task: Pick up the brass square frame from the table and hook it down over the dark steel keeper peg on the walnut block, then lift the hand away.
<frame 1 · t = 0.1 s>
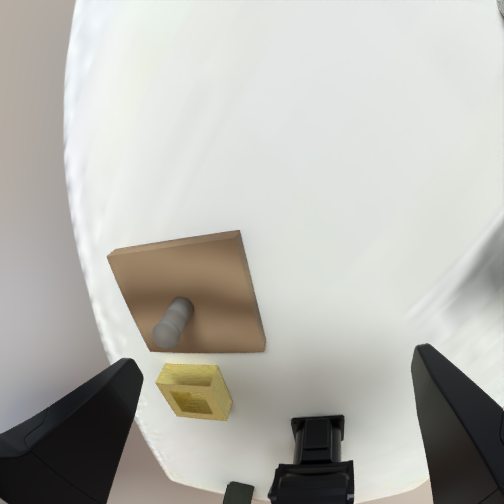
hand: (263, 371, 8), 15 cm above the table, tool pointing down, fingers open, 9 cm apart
keeper block: (188, 296, 26), on the table
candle: (240, 485, 47), on the table
brass square frame: (199, 383, 31), on the table
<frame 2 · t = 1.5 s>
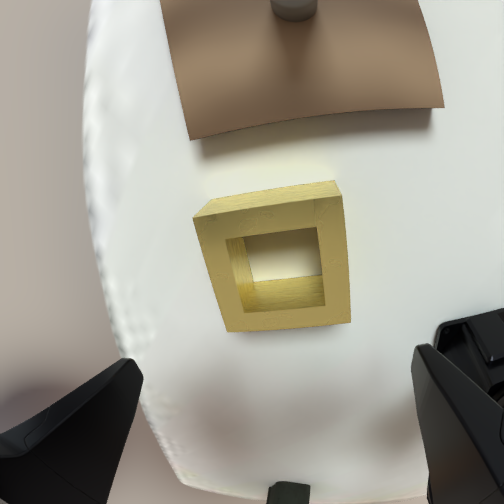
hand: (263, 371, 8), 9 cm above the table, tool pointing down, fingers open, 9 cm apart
keeper block: (295, 14, 11), on the table
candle: (289, 486, 32), on the table
brass square frame: (282, 246, 16), on the table
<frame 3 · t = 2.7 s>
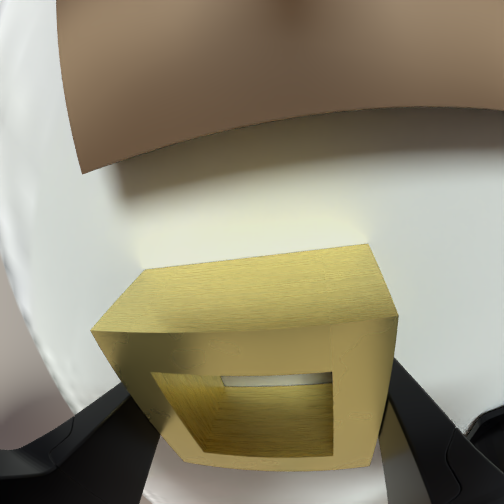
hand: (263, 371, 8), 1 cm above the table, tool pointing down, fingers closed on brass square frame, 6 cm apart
brass square frame: (267, 347, 9), on the table, touching gripper
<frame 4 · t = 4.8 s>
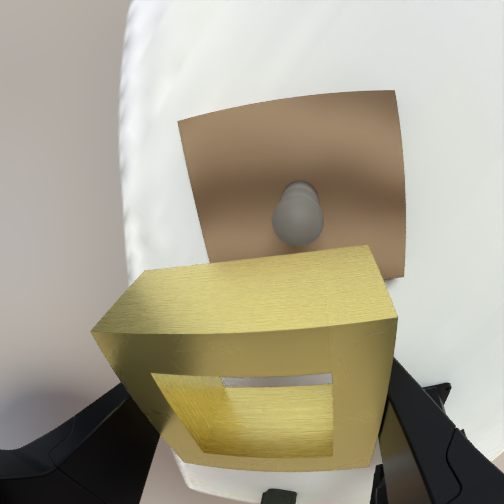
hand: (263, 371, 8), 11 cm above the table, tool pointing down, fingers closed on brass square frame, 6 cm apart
keeper block: (300, 192, 17), on the table
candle: (279, 492, 38), on the table
brass square frame: (267, 348, 9), point 10 cm above the table, touching gripper
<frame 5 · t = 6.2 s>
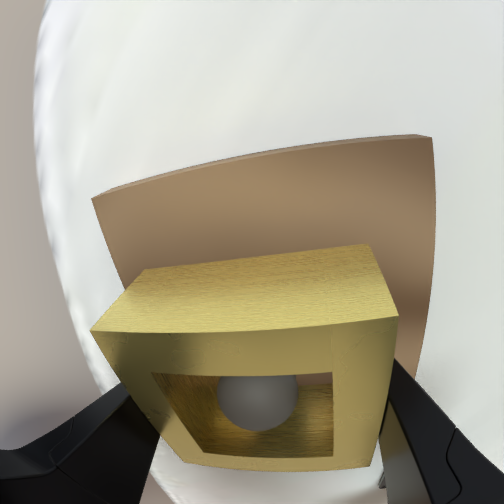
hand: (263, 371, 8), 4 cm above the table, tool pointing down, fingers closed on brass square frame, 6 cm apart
keeper block: (276, 289, 12), on the table
brass square frame: (267, 347, 9), point 3 cm above the table, touching gripper
when the fingers open (3 cm above the table, at t = 7.3 s): brass square frame stays where it is, resting on keeper block.
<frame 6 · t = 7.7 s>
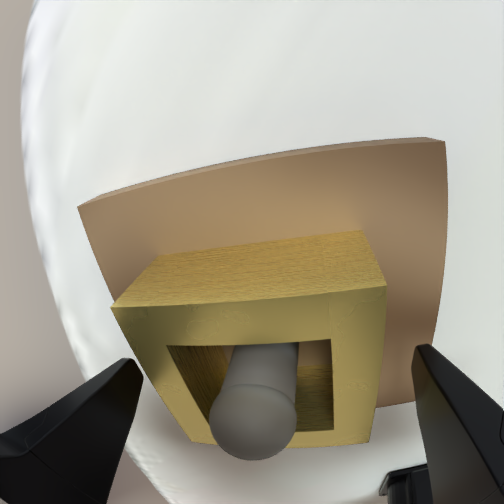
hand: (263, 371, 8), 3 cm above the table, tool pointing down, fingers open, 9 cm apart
keeper block: (275, 303, 11), on the table
brass square frame: (271, 328, 10), point 1 cm above the table, touching keeper block
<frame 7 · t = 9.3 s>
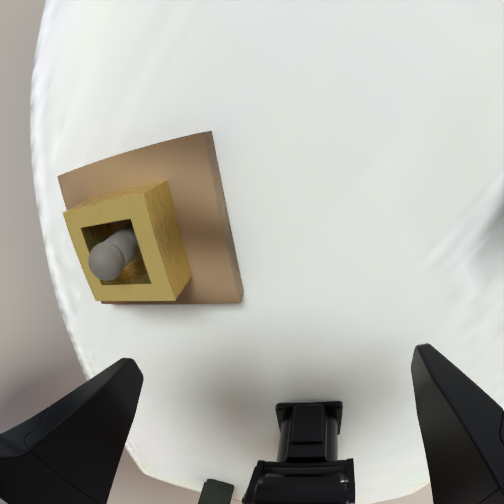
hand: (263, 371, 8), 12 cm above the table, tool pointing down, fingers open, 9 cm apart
keeper block: (147, 227, 20), on the table
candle: (219, 483, 42), on the table
brass square frame: (137, 235, 19), point 1 cm above the table, touching keeper block
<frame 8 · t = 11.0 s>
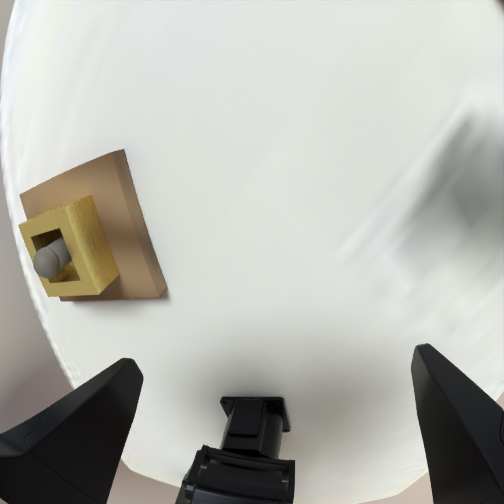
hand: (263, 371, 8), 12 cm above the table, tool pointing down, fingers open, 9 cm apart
keeper block: (88, 233, 22), on the table
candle: (197, 479, 43), on the table
brass square frame: (77, 241, 20), point 1 cm above the table, touching keeper block
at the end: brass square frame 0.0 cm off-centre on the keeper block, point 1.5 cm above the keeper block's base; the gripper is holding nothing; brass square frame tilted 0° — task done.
